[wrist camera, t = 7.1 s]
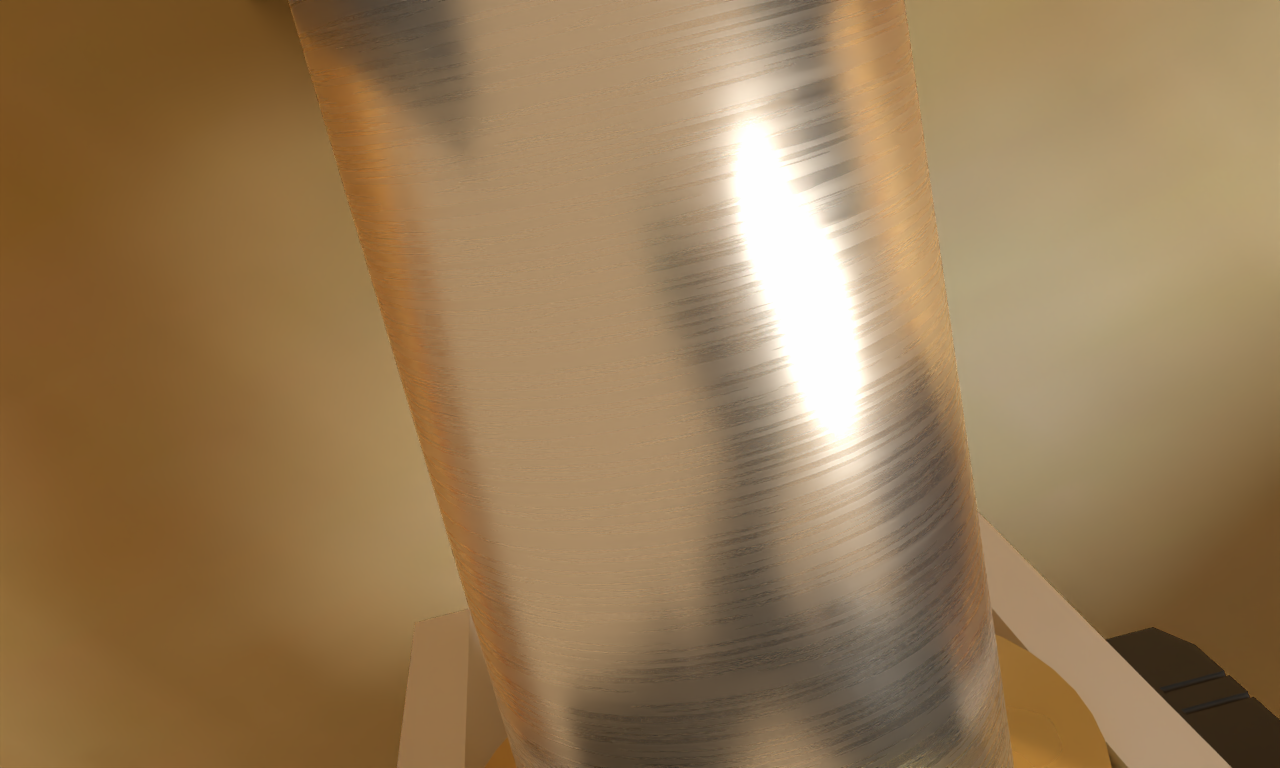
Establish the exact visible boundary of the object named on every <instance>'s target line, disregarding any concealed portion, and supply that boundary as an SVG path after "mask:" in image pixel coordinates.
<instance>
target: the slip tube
mask: <svg viewBox="0 0 1280 768" xmlns="http://www.w3.org/2000/svg"><path fill="white" fill-rule="evenodd" d="M288 2H289V5H290V9H291V12H292V15H293V19H294V22H295V25H296V29H297V32H298V36H299V39H300V42H301V46H302V49H303V52H304V56H305V59H306V62H307V66H308V69H309V72H310V76H311V79H312V82H313V86H314V89H315V93H316V96H317V99H318V103H319V106H320V109H321V113H322V116H323V119H324V123H325V126H326V129H327V133H328V136H329V140H330V143H331V146H332V150H333V153H334V156H335V160H336V163H337V166H338V170H339V173H340V176H341V180H342V183H343V186H344V190H345V193H346V197H347V200H348V203H349V207H350V210H351V213H352V217H353V220H354V223H355V227H356V230H357V233H358V237H359V240H360V244H361V247H362V250H363V254H364V257H365V260H366V264H367V267H368V270H369V274H370V277H371V280H372V284H373V287H374V290H375V294H376V297H377V301H378V304H379V307H380V311H381V314H382V317H383V321H384V324H385V327H386V331H387V334H388V337H389V341H390V344H391V347H392V351H393V354H394V358H395V361H396V364H397V368H398V371H399V374H400V378H401V381H402V384H403V388H404V391H405V394H406V398H407V401H408V405H409V408H410V411H411V415H412V418H413V421H414V425H415V428H416V431H417V435H418V438H419V441H420V445H421V448H422V451H423V455H424V458H425V462H426V465H427V468H428V472H429V475H430V478H431V482H432V485H433V488H434V492H435V495H436V498H437V502H438V505H439V509H440V512H441V515H442V519H443V522H444V525H445V529H446V532H447V535H448V539H449V542H450V545H451V549H452V552H453V555H454V559H455V562H456V566H457V569H458V572H459V576H460V579H461V582H462V586H463V589H464V592H465V596H466V599H467V602H468V606H469V609H470V613H471V616H472V619H473V623H474V626H475V629H476V633H477V636H478V639H479V643H480V646H481V649H482V653H483V656H484V659H485V663H486V666H487V670H488V673H489V676H490V680H491V683H492V686H493V690H494V693H495V696H496V700H497V703H498V706H499V710H500V713H501V716H502V720H503V723H504V727H505V730H506V733H507V738H506V739H505V741H504V742H503V743H502V744H501V745H500V746H499V747H498V749H497V750H496V751H495V753H494V754H493V756H492V757H491V759H490V760H489V762H488V763H487V764H486V766H485V767H484V768H1112V766H1111V762H1110V758H1109V754H1108V750H1107V746H1106V742H1105V739H1104V737H1103V735H1102V733H1101V731H1100V729H1099V727H1098V725H1097V722H1096V720H1095V718H1094V716H1093V714H1092V713H1091V711H1090V710H1089V709H1088V707H1087V706H1086V705H1085V703H1084V702H1083V700H1082V699H1081V698H1080V696H1079V695H1078V694H1077V692H1076V691H1075V690H1074V689H1073V688H1072V687H1071V686H1070V685H1069V684H1068V683H1067V682H1066V681H1065V680H1064V679H1063V678H1062V677H1061V676H1060V675H1059V674H1058V673H1057V672H1056V671H1055V670H1054V669H1052V668H1051V667H1050V666H1048V665H1047V664H1045V663H1044V662H1043V661H1041V660H1040V659H1039V658H1037V657H1036V656H1034V655H1033V654H1032V653H1030V652H1029V651H1027V650H1025V649H1023V648H1021V647H1020V646H1018V645H1016V644H1014V643H1012V642H1011V641H1009V640H1007V639H1005V638H1003V637H1001V636H999V635H996V634H995V629H994V622H993V615H992V609H991V602H990V595H989V588H988V581H987V574H986V567H985V560H984V553H983V546H982V539H981V532H980V525H979V518H978V511H977V504H976V497H975V490H974V483H973V476H972V469H971V462H970V455H969V448H968V441H967V434H966V427H965V420H964V414H963V407H962V400H961V393H960V386H959V379H958V372H957V365H956V358H955V351H954V344H953V337H952V330H951V323H950V316H949V309H948V302H947V295H946V288H945V281H944V274H943V267H942V260H941V253H940V246H939V239H938V232H937V225H936V219H935V212H934V205H933V198H932V191H931V184H930V177H929V170H928V163H927V156H926V149H925V142H924V135H923V128H922V121H921V114H920V107H919V100H918V93H917V86H916V79H915V72H914V65H913V58H912V51H911V44H910V37H909V30H908V24H907V17H906V10H905V3H904V0H288Z"/></svg>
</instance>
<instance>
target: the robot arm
mask: <svg viewBox="0 0 1280 768" xmlns="http://www.w3.org/2000/svg"><path fill="white" fill-rule="evenodd" d="M978 518H979V525H980V532H981V539H982V546H983V553H984V560H985V567H986V574H987V581H988V588H989V595H990V602H991V609H992V615H993V622H994V629H995V634H996V635H999V636H1001V637H1003V638H1005V639H1007V640H1009V641H1011V642H1012V643H1014V644H1016V645H1018V646H1020V647H1021V648H1023V649H1025V650H1027V651H1029V652H1030V653H1032V654H1033V655H1034V656H1036V657H1037V658H1039V659H1040V660H1041V661H1043V662H1044V663H1045V664H1047V665H1048V666H1050V667H1051V668H1052V669H1054V670H1055V671H1056V672H1057V673H1058V674H1059V675H1060V676H1061V677H1062V678H1063V679H1064V680H1065V681H1066V682H1067V683H1068V684H1069V685H1070V686H1071V687H1072V688H1073V689H1074V690H1075V691H1076V692H1077V694H1078V695H1079V696H1080V698H1081V699H1082V700H1083V702H1084V703H1085V705H1086V706H1087V707H1088V709H1089V710H1090V711H1091V713H1092V714H1093V716H1094V718H1095V720H1096V722H1097V725H1098V727H1099V729H1100V731H1101V733H1102V735H1103V737H1104V739H1105V742H1106V746H1107V750H1108V754H1109V758H1110V762H1111V766H1112V768H1280V720H1279V719H1278V718H1277V717H1276V716H1275V715H1273V714H1272V713H1271V712H1270V711H1269V710H1268V709H1267V708H1266V707H1264V706H1263V705H1262V704H1261V703H1260V702H1259V701H1258V700H1257V699H1255V698H1254V697H1252V698H1250V697H1249V695H1248V691H1246V690H1245V689H1244V688H1243V687H1242V686H1241V685H1240V684H1239V683H1237V682H1236V681H1235V680H1234V679H1233V678H1232V677H1231V676H1226V675H1225V673H1224V670H1223V669H1222V668H1220V667H1219V666H1218V665H1217V664H1216V663H1215V662H1214V661H1213V660H1211V659H1210V658H1209V657H1208V656H1207V655H1206V654H1205V653H1204V652H1202V651H1201V650H1200V649H1199V648H1198V647H1197V646H1196V645H1194V644H1192V643H1189V642H1187V641H1184V640H1182V639H1180V638H1177V637H1175V636H1173V635H1170V634H1168V633H1165V632H1163V631H1161V630H1158V629H1156V628H1154V627H1152V628H1148V629H1144V630H1141V631H1137V632H1133V633H1129V634H1125V635H1122V636H1118V637H1114V638H1110V639H1106V640H1105V639H1104V638H1103V637H1102V636H1101V635H1100V634H1099V633H1098V632H1097V631H1096V630H1095V629H1094V628H1093V627H1092V626H1091V625H1090V624H1089V623H1088V622H1087V621H1086V620H1085V619H1084V618H1083V617H1082V616H1081V615H1080V614H1079V613H1078V612H1077V611H1076V610H1075V609H1074V608H1073V607H1072V606H1071V605H1070V604H1069V603H1068V602H1067V601H1066V600H1065V599H1064V598H1063V597H1062V596H1061V595H1060V594H1059V593H1058V592H1057V591H1056V590H1055V589H1054V588H1053V587H1052V586H1051V585H1050V584H1049V583H1048V582H1047V581H1046V580H1045V579H1044V578H1043V577H1042V576H1041V575H1040V574H1039V573H1038V572H1037V571H1036V570H1035V569H1034V568H1033V567H1032V566H1031V565H1030V564H1029V563H1028V562H1027V561H1026V559H1025V558H1024V557H1023V556H1022V555H1021V554H1020V553H1019V552H1018V551H1017V550H1016V549H1015V548H1014V547H1013V546H1012V545H1011V544H1010V543H1009V542H1008V541H1007V540H1006V539H1005V538H1004V537H1003V536H1002V535H1001V534H1000V533H999V532H998V531H997V530H996V529H995V528H994V527H993V526H992V525H991V524H990V523H989V522H988V521H987V520H986V519H985V518H984V517H983V516H982V515H981V514H980V513H979V512H978ZM506 738H507V733H506V730H505V727H504V723H503V720H502V716H501V713H500V710H499V706H498V703H497V700H496V696H495V693H494V690H493V686H492V683H491V680H490V676H489V673H488V670H487V666H486V663H485V659H484V656H483V653H482V649H481V646H480V643H479V639H478V636H477V633H476V629H475V626H474V623H473V619H472V616H471V613H470V609H466V610H462V611H458V612H454V613H451V614H447V615H443V616H439V617H435V618H431V619H427V620H423V621H419V622H415V627H414V634H413V642H412V650H411V658H410V666H409V674H408V682H407V690H406V698H405V706H404V714H403V722H402V730H401V738H400V746H399V754H398V762H397V768H484V767H485V766H486V764H487V763H488V762H489V760H490V759H491V757H492V756H493V754H494V753H495V751H496V750H497V749H498V747H499V746H500V745H501V744H502V743H503V742H504V741H505V739H506Z"/></svg>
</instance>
